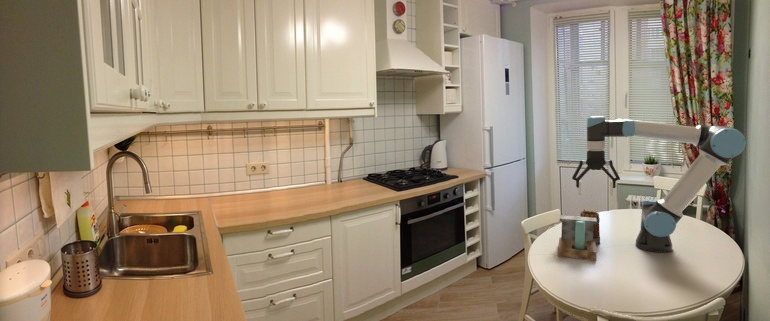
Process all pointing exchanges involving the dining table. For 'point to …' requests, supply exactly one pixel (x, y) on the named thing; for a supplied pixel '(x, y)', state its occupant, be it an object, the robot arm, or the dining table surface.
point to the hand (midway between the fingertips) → (595, 194)
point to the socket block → (568, 237)
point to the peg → (579, 235)
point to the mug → (596, 226)
